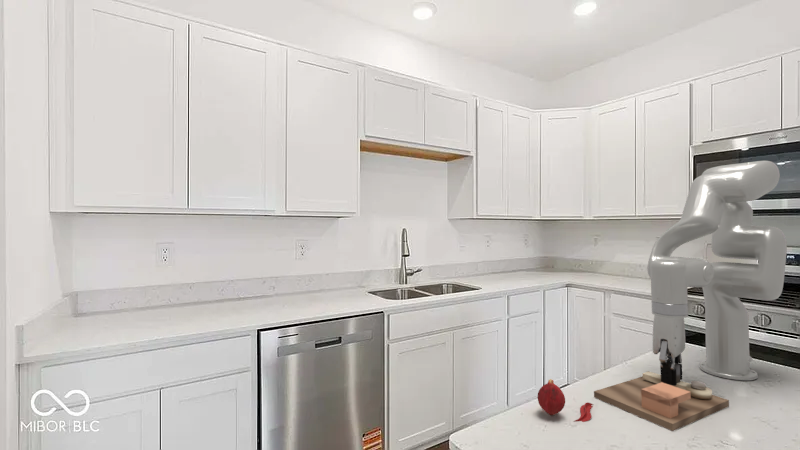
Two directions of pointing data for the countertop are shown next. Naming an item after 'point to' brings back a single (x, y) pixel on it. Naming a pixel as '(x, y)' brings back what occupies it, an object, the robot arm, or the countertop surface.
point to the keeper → (664, 399)
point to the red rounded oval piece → (551, 398)
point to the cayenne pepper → (585, 412)
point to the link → (680, 384)
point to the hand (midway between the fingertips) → (671, 380)
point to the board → (630, 401)
